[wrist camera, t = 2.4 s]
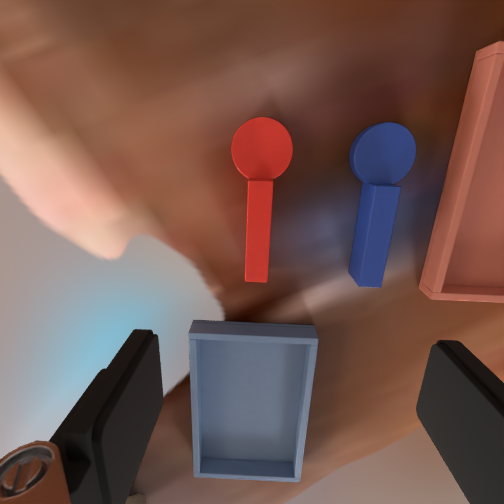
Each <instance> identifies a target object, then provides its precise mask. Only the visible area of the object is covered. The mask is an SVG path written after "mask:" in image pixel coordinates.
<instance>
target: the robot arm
mask: <svg viewBox="0 0 504 504" xmlns="http://www.w3.org/2000/svg"><path fill="white" fill-rule="evenodd" d="M162 404H163V388H162V377H161V364H160V352H159V341H158V335H157V334H153V332H152V330H141V329H135V330H133V332H132V333H131V334H130V336H129V337H128V339H127V340H126V341H125V343H124V344H123V346H122V347H121V348H120V350H119V351H118V353H117V354H116V356H115V357H114V359H113V360H112V361H111V363H110V364H109V366H108V367H107V368H106V369H102V370H101V371H100V372H99V373H98V374H97V375H96V377H95V378H94V379H93V381H92V382H91V384H90V385H89V386H88V388H87V389H86V391H85V392H84V393H83V395H82V396H81V398H80V399H79V400H78V402H77V403H76V404H75V406H74V407H73V408H72V410H71V411H70V413H69V414H68V415H67V417H66V418H65V420H64V421H63V422H62V424H61V425H60V426H59V428H58V429H57V430H56V432H55V433H54V435H53V436H52V437H51V439H50V440H49V441H48V442H47V441H38V442H31V443H29V444H26V445H23V446H20V447H19V448H17V449H15V450H13V451H12V452H10V453H8V454H7V455H5V456H4V457H3V458H2V459H0V504H125V503H126V500H127V498H128V495H129V492H130V490H131V487H132V484H133V482H134V479H135V477H136V474H137V471H138V469H139V466H140V463H141V461H142V458H143V456H144V453H145V450H146V448H147V445H148V442H149V440H150V437H151V434H152V432H153V429H154V427H155V424H156V421H157V419H158V416H159V413H160V411H161V408H162ZM416 411H417V415H418V418H419V420H420V421H421V423H422V425H423V426H424V428H425V430H426V431H427V433H428V435H429V436H430V438H431V440H432V441H433V443H434V445H435V446H436V448H437V450H438V451H439V453H440V455H441V456H442V458H443V460H444V461H445V463H446V465H447V466H448V468H449V470H450V471H451V473H452V475H453V476H454V478H455V480H456V481H457V483H458V485H459V486H460V488H461V490H462V491H463V493H464V495H465V496H466V498H467V500H468V501H469V503H470V504H504V383H503V382H502V381H501V380H500V379H499V378H498V377H497V376H496V375H495V374H494V373H493V372H492V371H490V370H489V369H488V368H487V367H486V366H485V365H484V364H483V363H482V362H481V361H480V360H479V359H478V358H477V357H476V356H475V355H474V354H472V353H471V352H470V351H469V350H468V349H467V348H466V347H465V346H464V345H463V344H462V343H461V342H459V341H453V340H439V341H437V343H436V344H434V345H432V347H431V350H430V354H429V358H428V362H427V366H426V370H425V374H424V378H423V382H422V386H421V390H420V394H419V398H418V402H417V406H416Z"/></svg>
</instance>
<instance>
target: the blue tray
mask: <svg viewBox="0 0 504 504" xmlns="http://www.w3.org/2000/svg"><path fill="white" fill-rule="evenodd" d="M318 340H319V338H318V335H317V332H316V329H315V326H314V325H295V324H274V323H252V322H230V321H208V320H207V321H206V320H193V322H192V325H191V328H190V331H189V359H190V387H191V415H192V442H193V470H194V477H205V478H225V479H245V480H265V481H284V482H300V477H301V470H302V462H303V455H304V447H305V439H306V432H307V424H308V417H309V409H310V401H311V394H312V386H313V378H314V371H315V363H316V356H317V348H318Z"/></svg>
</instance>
